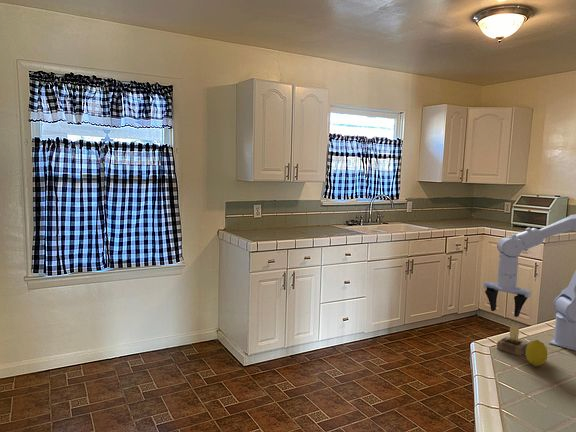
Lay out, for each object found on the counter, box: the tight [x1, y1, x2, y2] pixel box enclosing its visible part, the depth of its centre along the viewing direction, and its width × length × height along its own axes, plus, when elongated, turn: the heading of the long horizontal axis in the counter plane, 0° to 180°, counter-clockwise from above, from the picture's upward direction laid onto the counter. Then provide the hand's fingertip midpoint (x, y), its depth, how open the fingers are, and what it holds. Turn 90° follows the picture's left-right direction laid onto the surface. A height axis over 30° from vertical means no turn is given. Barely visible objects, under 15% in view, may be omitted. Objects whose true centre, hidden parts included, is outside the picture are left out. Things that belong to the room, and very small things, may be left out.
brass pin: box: [508, 323, 520, 345], centre depth 140 cm, size 2×2×8 cm
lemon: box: [525, 339, 548, 368], centre depth 128 cm, size 6×6×8 cm
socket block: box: [496, 336, 530, 357], centre depth 140 cm, size 7×7×2 cm
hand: (504, 313), depth 147 cm, fingers open, 7 cm apart
